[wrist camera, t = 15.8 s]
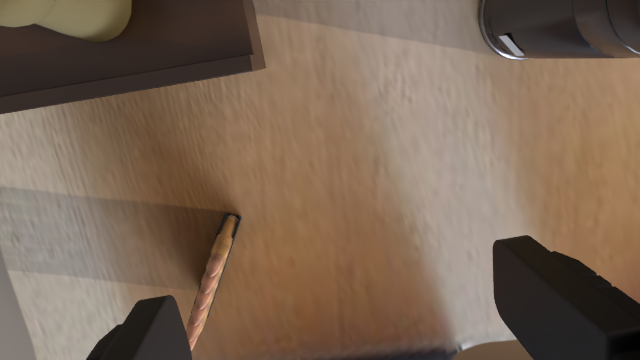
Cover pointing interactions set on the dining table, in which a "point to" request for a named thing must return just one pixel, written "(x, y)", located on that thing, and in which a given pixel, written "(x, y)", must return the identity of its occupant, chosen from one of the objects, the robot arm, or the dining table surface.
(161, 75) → the shelf
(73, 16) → the cork
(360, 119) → the dining table surface
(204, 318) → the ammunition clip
